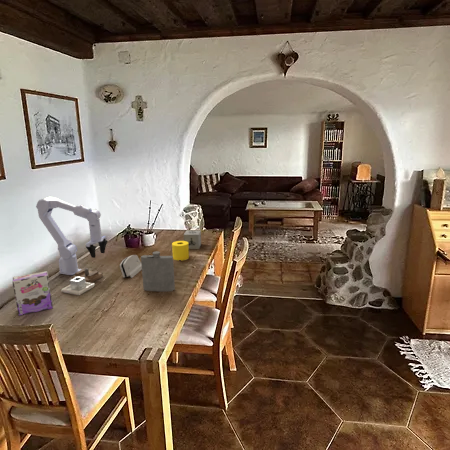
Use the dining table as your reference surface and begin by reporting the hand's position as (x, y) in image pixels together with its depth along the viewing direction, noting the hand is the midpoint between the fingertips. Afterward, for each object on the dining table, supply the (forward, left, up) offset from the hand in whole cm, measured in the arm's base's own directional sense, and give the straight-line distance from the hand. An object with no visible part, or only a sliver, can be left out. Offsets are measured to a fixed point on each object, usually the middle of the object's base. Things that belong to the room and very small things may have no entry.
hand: (98, 255), depth 197 cm
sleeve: (+5, -22, -9) cm, 24 cm away
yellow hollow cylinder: (+33, +35, -10) cm, 49 cm away
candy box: (+2, -45, -10) cm, 46 cm away
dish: (+5, -22, -10) cm, 25 cm away
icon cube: (+31, +57, -10) cm, 65 cm away
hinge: (+17, +6, -10) cm, 21 cm away
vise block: (0, -10, -10) cm, 14 cm away
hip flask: (+44, -9, -10) cm, 46 cm away
